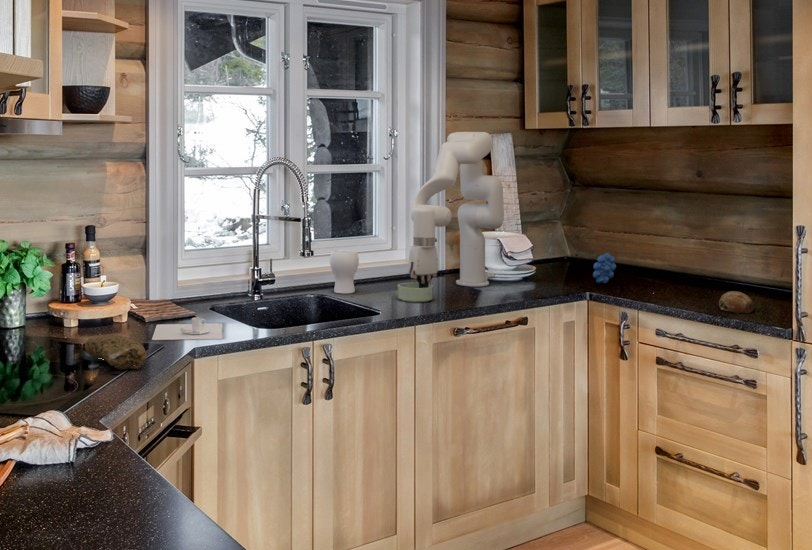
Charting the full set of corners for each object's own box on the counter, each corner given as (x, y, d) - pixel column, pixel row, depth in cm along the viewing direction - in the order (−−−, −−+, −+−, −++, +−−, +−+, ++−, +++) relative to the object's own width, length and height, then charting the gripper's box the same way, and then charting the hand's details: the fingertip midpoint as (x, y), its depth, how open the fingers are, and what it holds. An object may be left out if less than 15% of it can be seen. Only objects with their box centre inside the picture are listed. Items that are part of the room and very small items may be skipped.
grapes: (606, 280, 333) (606, 250, 333) (620, 283, 327) (620, 252, 327) (584, 283, 328) (585, 252, 328) (598, 285, 322) (598, 254, 322)
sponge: (152, 373, 209) (132, 339, 226) (148, 345, 207) (128, 313, 224) (100, 388, 204) (83, 353, 222) (95, 360, 202) (78, 326, 219)
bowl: (410, 295, 305) (410, 281, 305) (439, 299, 297) (439, 285, 297) (391, 299, 296) (391, 285, 296) (420, 304, 288) (420, 289, 288)
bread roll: (716, 318, 280) (708, 297, 278) (737, 303, 283) (729, 282, 281) (741, 324, 270) (734, 303, 269) (763, 309, 273) (755, 287, 272)
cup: (358, 289, 316) (358, 249, 316) (358, 294, 306) (358, 253, 306) (330, 289, 317) (330, 249, 317) (329, 294, 307) (329, 253, 307)
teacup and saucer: (179, 335, 243) (179, 321, 243) (181, 329, 251) (181, 315, 251) (210, 335, 243) (210, 321, 243) (210, 329, 251) (210, 315, 251)
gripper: (434, 240, 302) (434, 291, 302) (400, 242, 295) (399, 294, 296) (447, 242, 295) (447, 294, 296) (412, 244, 289) (412, 297, 289)
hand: (423, 294), depth 296 cm, fingers closed
